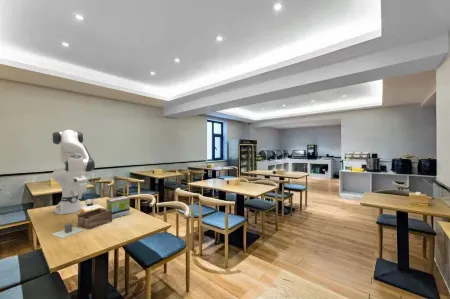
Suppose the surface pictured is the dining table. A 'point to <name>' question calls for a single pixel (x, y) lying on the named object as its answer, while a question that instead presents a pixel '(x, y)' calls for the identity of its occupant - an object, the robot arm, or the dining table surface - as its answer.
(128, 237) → the dining table surface
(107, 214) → the caddy
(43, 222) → the dining table surface
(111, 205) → the tea box
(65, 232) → the lid
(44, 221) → the dining table surface
